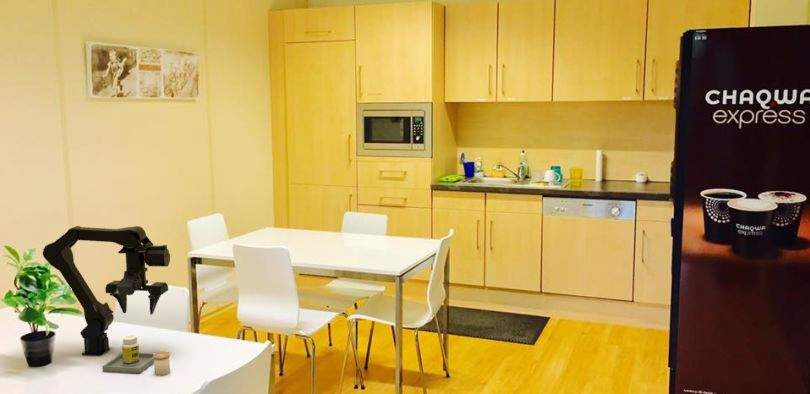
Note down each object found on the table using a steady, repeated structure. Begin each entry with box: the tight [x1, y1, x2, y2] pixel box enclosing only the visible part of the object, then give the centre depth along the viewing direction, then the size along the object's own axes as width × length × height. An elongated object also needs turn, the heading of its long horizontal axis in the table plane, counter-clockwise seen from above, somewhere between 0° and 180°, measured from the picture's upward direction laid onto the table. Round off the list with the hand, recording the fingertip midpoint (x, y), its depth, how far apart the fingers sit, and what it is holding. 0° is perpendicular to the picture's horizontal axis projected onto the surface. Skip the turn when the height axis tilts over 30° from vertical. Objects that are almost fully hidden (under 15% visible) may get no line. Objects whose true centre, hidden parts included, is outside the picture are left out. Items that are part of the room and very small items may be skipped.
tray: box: [102, 352, 154, 375], centre depth 218 cm, size 12×12×2 cm
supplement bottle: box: [121, 335, 140, 366], centre depth 217 cm, size 5×5×8 cm
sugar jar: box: [152, 350, 171, 376], centre depth 212 cm, size 5×5×6 cm
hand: (138, 313), depth 227 cm, fingers open, 9 cm apart
